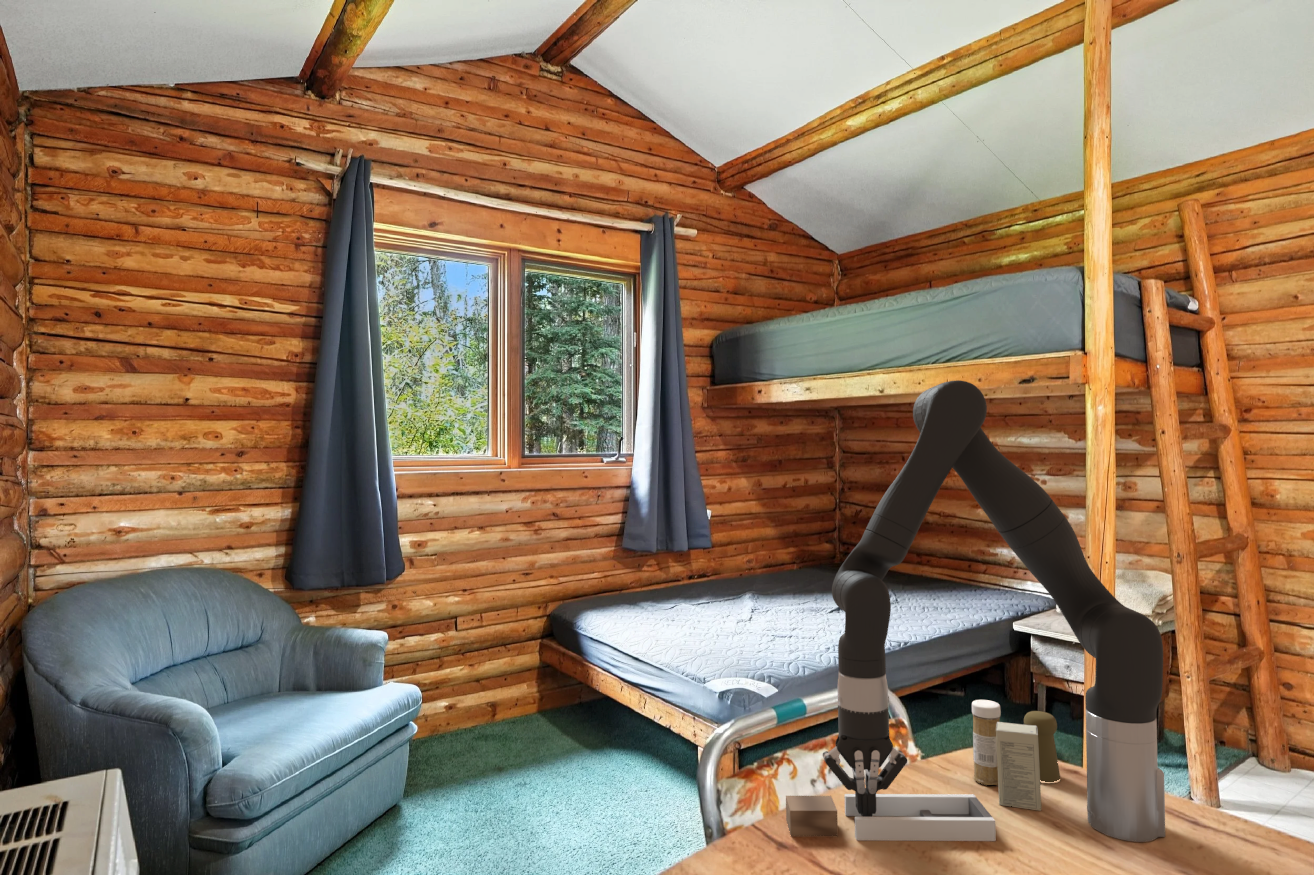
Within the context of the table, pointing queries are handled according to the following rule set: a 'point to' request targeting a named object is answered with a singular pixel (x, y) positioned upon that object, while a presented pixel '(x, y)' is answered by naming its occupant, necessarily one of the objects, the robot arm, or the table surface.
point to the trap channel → (924, 818)
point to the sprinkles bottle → (985, 741)
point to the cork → (1045, 744)
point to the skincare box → (1018, 765)
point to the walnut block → (811, 816)
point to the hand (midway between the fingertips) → (865, 815)
